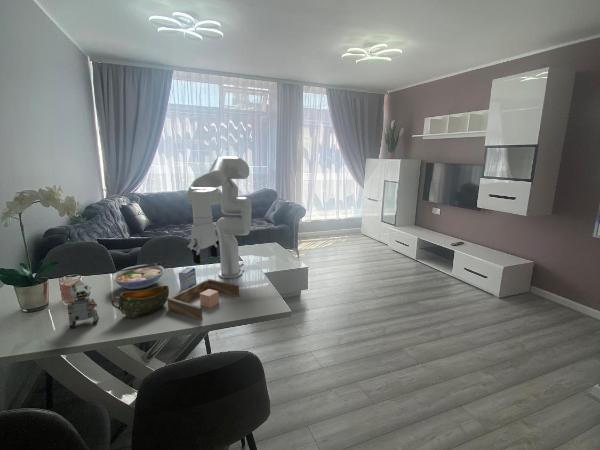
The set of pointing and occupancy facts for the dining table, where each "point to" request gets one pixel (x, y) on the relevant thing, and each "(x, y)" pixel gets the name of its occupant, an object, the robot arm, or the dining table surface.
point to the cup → (142, 301)
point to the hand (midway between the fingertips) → (205, 259)
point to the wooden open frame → (180, 299)
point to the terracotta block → (209, 298)
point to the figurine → (81, 305)
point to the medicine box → (187, 278)
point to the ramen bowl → (138, 276)
